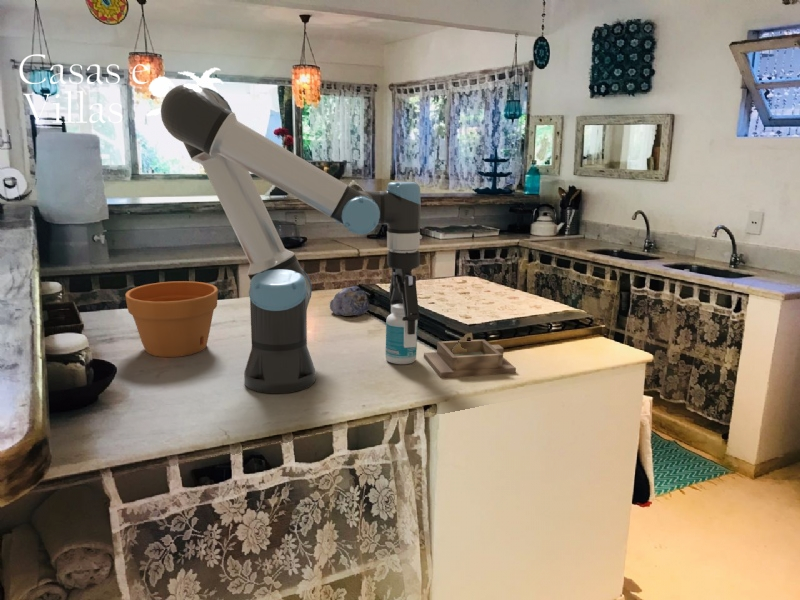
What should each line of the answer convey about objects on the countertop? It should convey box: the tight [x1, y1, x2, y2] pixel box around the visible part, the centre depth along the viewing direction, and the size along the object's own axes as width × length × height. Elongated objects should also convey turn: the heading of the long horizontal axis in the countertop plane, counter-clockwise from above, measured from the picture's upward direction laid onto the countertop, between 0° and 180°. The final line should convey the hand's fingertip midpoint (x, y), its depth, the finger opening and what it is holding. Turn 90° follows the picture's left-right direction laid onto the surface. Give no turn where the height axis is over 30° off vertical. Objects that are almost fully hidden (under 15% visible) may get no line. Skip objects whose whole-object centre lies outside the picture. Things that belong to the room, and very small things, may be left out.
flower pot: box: [125, 280, 219, 358], centre depth 158 cm, size 21×21×15 cm
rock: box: [329, 285, 370, 317], centre depth 196 cm, size 11×10×10 cm
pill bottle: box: [385, 303, 418, 365], centre depth 153 cm, size 8×7×14 cm
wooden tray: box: [423, 338, 517, 378], centre depth 152 cm, size 18×14×4 cm
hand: (402, 338), depth 154 cm, fingers open, 13 cm apart
